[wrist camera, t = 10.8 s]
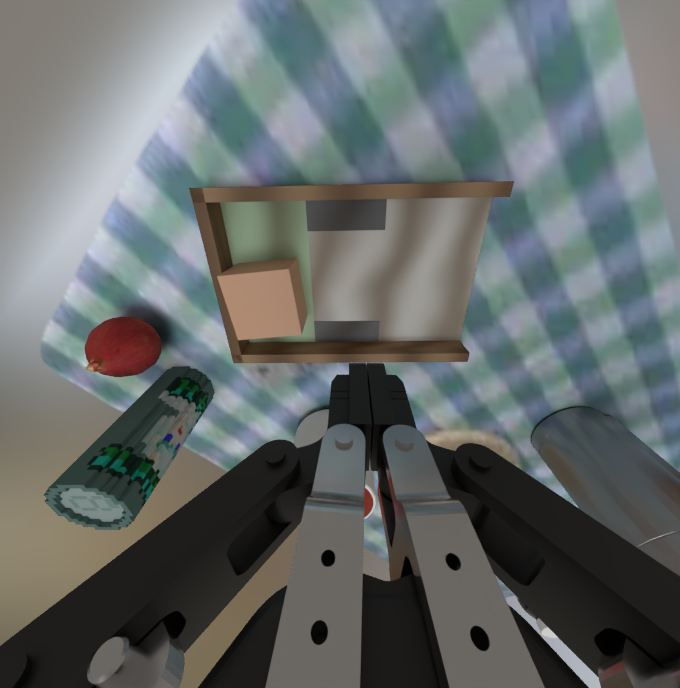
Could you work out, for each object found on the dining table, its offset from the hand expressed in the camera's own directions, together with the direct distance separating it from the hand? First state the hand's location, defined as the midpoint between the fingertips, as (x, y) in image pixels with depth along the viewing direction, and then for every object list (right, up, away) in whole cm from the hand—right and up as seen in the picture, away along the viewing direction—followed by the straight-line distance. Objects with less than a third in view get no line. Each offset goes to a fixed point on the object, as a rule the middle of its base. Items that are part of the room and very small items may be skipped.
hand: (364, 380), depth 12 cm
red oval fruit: (-22, +3, +18) cm, 29 cm away
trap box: (0, +8, +15) cm, 17 cm away
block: (-8, +7, +15) cm, 19 cm away
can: (-20, -4, +22) cm, 30 cm away
